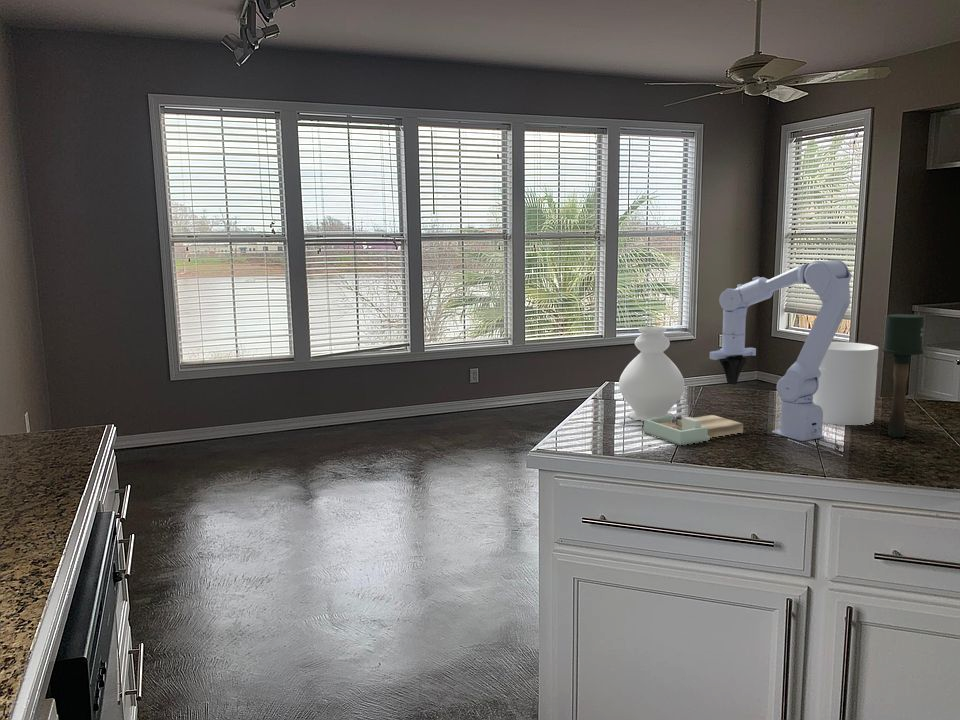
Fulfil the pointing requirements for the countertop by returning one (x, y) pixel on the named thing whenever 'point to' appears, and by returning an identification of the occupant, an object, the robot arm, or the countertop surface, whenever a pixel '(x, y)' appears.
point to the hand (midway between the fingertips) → (731, 383)
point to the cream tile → (690, 423)
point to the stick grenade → (901, 361)
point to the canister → (848, 383)
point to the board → (718, 425)
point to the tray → (675, 432)
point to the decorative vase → (651, 377)
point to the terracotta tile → (669, 425)
